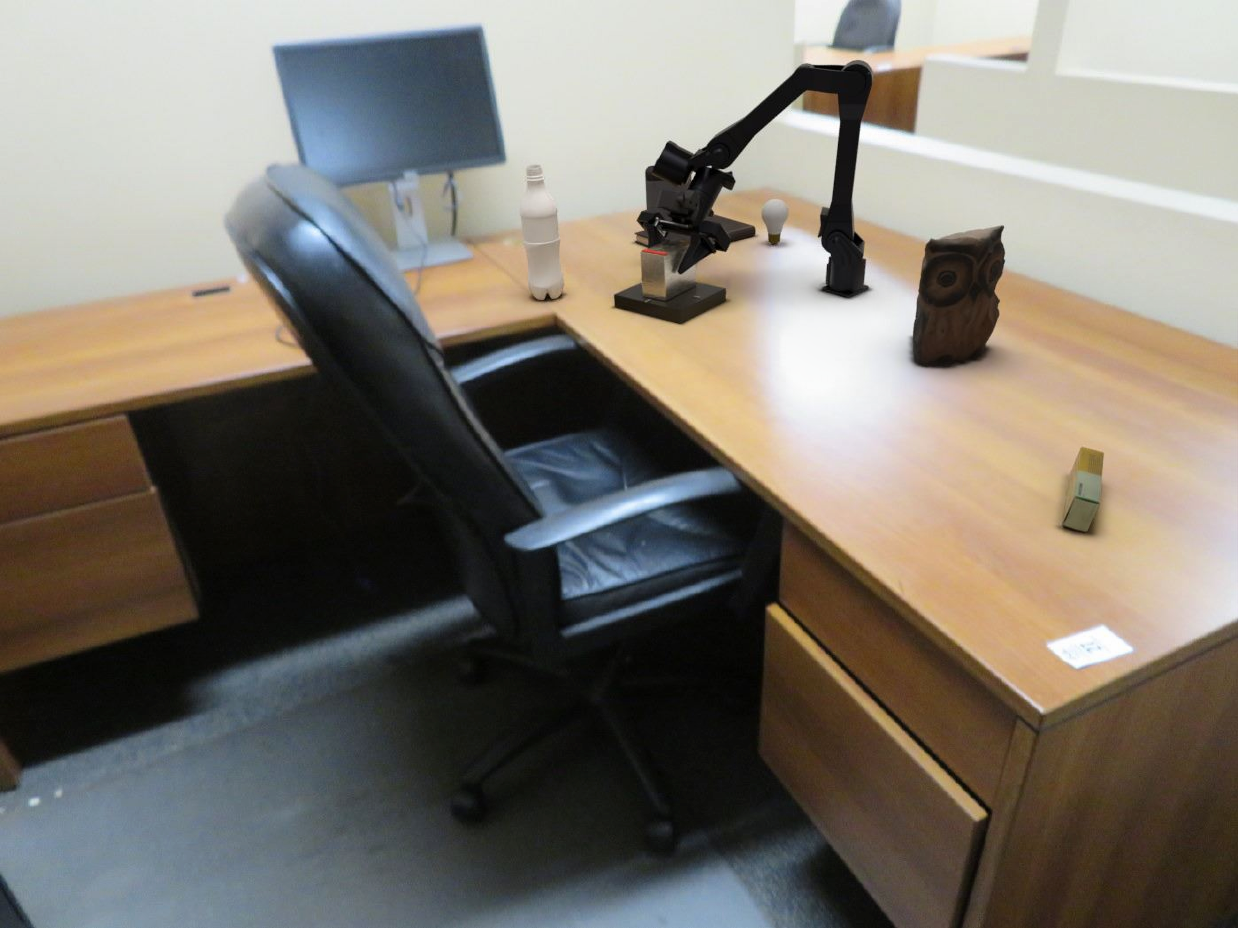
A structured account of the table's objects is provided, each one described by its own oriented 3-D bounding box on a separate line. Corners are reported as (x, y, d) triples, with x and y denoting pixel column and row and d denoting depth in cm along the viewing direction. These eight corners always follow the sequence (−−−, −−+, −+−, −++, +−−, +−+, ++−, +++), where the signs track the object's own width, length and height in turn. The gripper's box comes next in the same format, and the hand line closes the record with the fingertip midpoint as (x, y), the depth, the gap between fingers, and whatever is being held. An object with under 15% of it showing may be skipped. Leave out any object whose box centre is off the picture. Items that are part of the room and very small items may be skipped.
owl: (994, 346, 137) (1017, 221, 126) (980, 377, 127) (1003, 245, 117) (914, 335, 142) (929, 215, 132) (894, 364, 133) (909, 237, 123)
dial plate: (726, 300, 162) (726, 287, 161) (680, 324, 153) (680, 309, 152) (661, 286, 172) (660, 273, 170) (614, 307, 163) (613, 293, 161)
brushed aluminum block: (673, 281, 166) (672, 236, 162) (696, 285, 163) (695, 240, 159) (642, 296, 159) (640, 250, 155) (665, 301, 156) (664, 254, 152)
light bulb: (789, 247, 188) (791, 201, 183) (762, 249, 189) (763, 203, 184) (785, 240, 193) (787, 195, 188) (759, 241, 194) (760, 196, 189)
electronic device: (693, 258, 186) (691, 163, 176) (692, 267, 181) (690, 169, 171) (650, 260, 187) (646, 165, 177) (648, 268, 182) (644, 171, 172)
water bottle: (560, 302, 167) (547, 170, 154) (525, 302, 168) (509, 171, 156) (569, 290, 173) (557, 162, 160) (535, 289, 174) (521, 163, 162)
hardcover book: (634, 242, 199) (634, 232, 198) (712, 223, 209) (712, 213, 208) (675, 257, 187) (675, 247, 186) (755, 236, 198) (755, 226, 196)
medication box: (1088, 534, 93) (1100, 505, 91) (1061, 526, 94) (1073, 497, 92) (1093, 478, 102) (1105, 450, 100) (1069, 472, 103) (1079, 444, 101)
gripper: (641, 165, 159) (604, 238, 157) (723, 177, 148) (683, 254, 146) (668, 200, 168) (633, 269, 166) (747, 214, 157) (710, 287, 155)
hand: (662, 269), depth 158 cm, fingers open, 7 cm apart
